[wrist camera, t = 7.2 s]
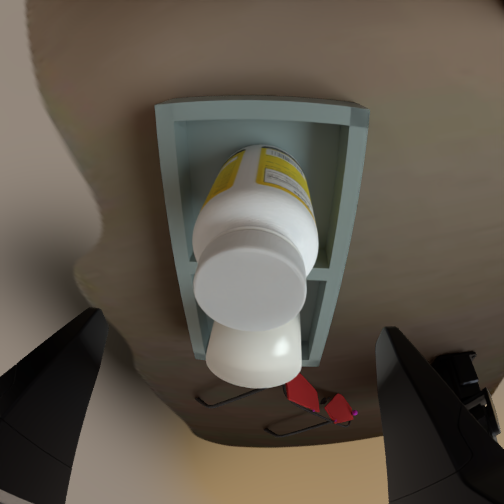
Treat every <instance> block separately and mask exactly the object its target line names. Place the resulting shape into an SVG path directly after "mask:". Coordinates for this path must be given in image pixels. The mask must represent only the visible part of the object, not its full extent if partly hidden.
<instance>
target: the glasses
mask: <svg viewBox="0 0 504 504" xmlns="http://www.w3.org/2000/svg"><path fill="white" fill-rule="evenodd" d="M282 385H283V391H284V394H285V396H286V397H287V399H288V400H289V401H290V402H291V403H293V404H294V405H296V406H297V407H299V408H301V409H303V410H305V411H308V412H310V413H312V414H314V415H316V416H318V417H321V418H323V419H325V420H327V421H326V422H323V423H320V424H317V425H314V426H311V427H308V428H305V429H302V430H298V431H295V432H291V433H288V434H284V435H277V434H275V433H274V432H272V431H270V430H269V429H264V431H266V432H268V433H270V434H272V435H273V436H276V437H286V436H289V435H293V434H296V433H300V432H303V431H307V430H310V429H313V428H317V427H320V426H323V425H326V424H329V423H334V424H336V425H339V426H341V427H348V426H349V425H350V422H351V420H353V415H356V414H357V411H356V410H353V411H352V408H351V407H350V405H349V404H348V402H347V401H346V400H345V398H344V397H343V396H342V395H340V394H339V393H337V394H336V395H335V396H334V397H333V399H332V400H331V401H330V402H329V403H328V404H327V405H326V406H325V407H324V408H325V410H326V411H327V413H328V414H329V416H330V417H331V419H332V420H330V419H327V418H325V417H323V416H321V415H319V414H316V413H314V411H316V412H320V411H319V402H318V394H317V391H316V390H315V389H314V388H313V387H312V385H311V384H310V383H309V382H308V381H307V380H306V379H305V378H304V377H303V376H302V375H301V374H300V373H298V375H297V376H296V377H295V378H293V379H292V380H291V381H289V382H287V383H286V390H287V393H286V390H285V384H282ZM265 389H267V388H257V389H255V390H252V391H250V392H247V393H244V394H242V395H239V396H237V397H234V398H231V399H228V400H226V401H223V402H220V403H217V404H214V405H208V404H206V403H205V402H204V401H203V400H201V399H200V398H195V400H197V401H198V402H199V403H201V404H202V405H204V406H205V407H208V408H216V407H219V406H222V405H224V404H227V403H230V402H233V401H236V400H238V399H241V398H244V397H247V396H249V395H252V394H254V393H257V392H260V391H262V390H265ZM325 399H326V398H323V399H322V400H321V402H320V404H325V403H326V402H327V400H328V399H330V397H329V398H327V400H326V401H325ZM296 403H298V404H300V405H302V406H305V407H307V408H309V409H312V410H311V411H310V410H308V409H306V408H304V407H302V406H300V405H298V404H296ZM345 421H349V423H348V425H346V426H345V425H341V424H339V423H341V422H345Z"/></svg>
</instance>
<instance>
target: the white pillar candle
mask: <svg viewBox="0 0 504 504" xmlns="http://www.w3.org/2000/svg"><path fill="white" fill-rule="evenodd" d="M206 363H207V365H208V367H209V369H210V370H211V371H212V372H213V373H214V374H215V375H216V376H217V377H219V378H221V379H222V380H224V381H226V382H229V383H231V384H234V385H237V386H241V387H247V388H270V387H275V386H279V385H282V384H285V383H287V382H289V381H291V380H292V379H293V378H295V377H296V376H297V375H298V373H299V372H300V370H301V366H302V357H301V327H300V312H299V313H298V314H297V315H296V316H295V317H294V318H293V319H292V320H291V321H289V322H288V323H286V324H284V325H282V326H280V327H278V328H274V329H271V330H266V331H241V330H236V329H233V328H230V327H227V326H224V325H222V324H220V323H218V322H216V321H215V320H214V323H213V327H212V331H211V335H210V340H209V344H208V348H207V353H206Z"/></svg>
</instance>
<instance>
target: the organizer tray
mask: <svg viewBox="0 0 504 504" xmlns="http://www.w3.org/2000/svg"><path fill="white" fill-rule="evenodd" d="M155 115H156V127H157V138H158V148H159V157H160V166H161V174H162V182H163V190H164V197H165V204H166V211H167V218H168V224H169V231H170V237H171V243H172V249H173V255H174V260H175V266H176V271H177V276H178V282H179V287H180V292H181V297H182V302H183V306H184V311H185V316H186V320H187V325H188V329H189V334H190V338H191V342H192V347H193V351H194V355H195V359H201V360H206V353H207V348H208V344H209V340H210V335H211V331H212V327H213V323H214V320H213V319H212V318H210V317H209V316H208V315H207V314H206V313H205V312H204V311H203V310H202V309H201V307H200V306H199V304H198V302H197V300H196V298H195V295H194V290H193V280H194V275H195V272H196V269H197V266H198V263H197V260H196V258H195V255H194V251H193V245H192V236H193V230H194V226H195V223H196V220H197V217H198V215H199V213H200V211H201V209H202V206H203V204H204V202H205V200H206V198H207V196H208V194H209V192H210V190H211V188H212V186H213V184H214V182H215V180H216V178H217V176H218V174H219V172H220V170H221V168H222V166H223V165H224V163H225V162H226V160H227V159H228V158H229V157H230V156H231V155H233V154H234V153H235V152H237V151H238V150H240V149H242V148H245V147H248V146H252V145H260V144H261V145H271V146H275V147H278V148H280V149H282V150H284V151H286V152H287V153H289V154H290V155H291V156H293V157H294V158H295V159H296V161H297V162H298V163H299V165H300V166H301V168H302V170H303V172H304V175H305V178H306V181H307V186H308V190H309V194H310V199H311V203H312V208H313V213H314V218H315V222H316V227H317V232H318V243H319V245H318V254H317V258H316V262H315V264H314V266H313V268H312V270H311V271H310V273H309V274H308V276H307V277H306V286H307V294H306V299H305V303H304V305H303V307H302V309H301V311H300V327H301V357H302V366H309V367H318V366H319V363H320V360H321V356H322V353H323V349H324V346H325V343H326V339H327V336H328V332H329V328H330V325H331V321H332V317H333V313H334V310H335V306H336V302H337V298H338V294H339V290H340V286H341V281H342V277H343V273H344V268H345V264H346V259H347V255H348V250H349V245H350V240H351V235H352V230H353V225H354V220H355V214H356V209H357V203H358V197H359V191H360V185H361V178H362V172H363V165H364V158H365V150H366V142H367V134H368V125H369V115H370V109H368V108H366V107H364V106H362V105H360V104H357V103H354V102H346V101H338V100H328V99H318V98H305V97H290V96H263V95H229V96H202V97H186V98H174V99H170V100H167V101H164V102H162V103H159V104H156V105H155Z"/></svg>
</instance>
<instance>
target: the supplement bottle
mask: <svg viewBox="0 0 504 504" xmlns="http://www.w3.org/2000/svg"><path fill="white" fill-rule="evenodd" d="M192 245H193V251H194V255H195V258H196V260H197V263H198V266H197V269H196V272H195V275H194V280H193V290H194V295H195V298H196V300H197V302H198V304H199V306H200V307H201V309H202V310H203V311H204V312H205V313H206V314H207V315H208V316H209V317H210V318H212V319H213V320H215V321H216V322H218V323H220V324H222V325H224V326H227V327H230V328H233V329H236V330H241V331H266V330H271V329H274V328H278V327H280V326H282V325H284V324H286V323H288V322H289V321H291V320H292V319H293V318H294V317H295V316H296V315H297V314H298V313H299V312H300V311H301V309H302V307H303V305H304V303H305V299H306V294H307V286H306V277H307V276H308V274H309V273H310V271H311V270H312V268H313V266H314V264H315V262H316V258H317V254H318V245H319V243H318V232H317V227H316V222H315V218H314V213H313V208H312V203H311V199H310V194H309V190H308V186H307V181H306V178H305V175H304V172H303V170H302V168H301V166H300V165H299V163H298V162H297V161H296V159H295V158H294V157H293V156H291V155H290V154H289V153H287V152H286V151H284V150H282V149H280V148H278V147H275V146H271V145H261V144H260V145H252V146H248V147H245V148H242V149H240V150H238V151H237V152H235V153H234V154H233V155H231V156H230V157H229V158H228V159H227V160H226V162H225V163H224V165H223V166H222V168H221V170H220V172H219V174H218V176H217V178H216V180H215V182H214V184H213V186H212V188H211V190H210V192H209V194H208V196H207V198H206V200H205V202H204V204H203V206H202V209H201V211H200V213H199V215H198V217H197V220H196V223H195V226H194V230H193V236H192Z"/></svg>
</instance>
